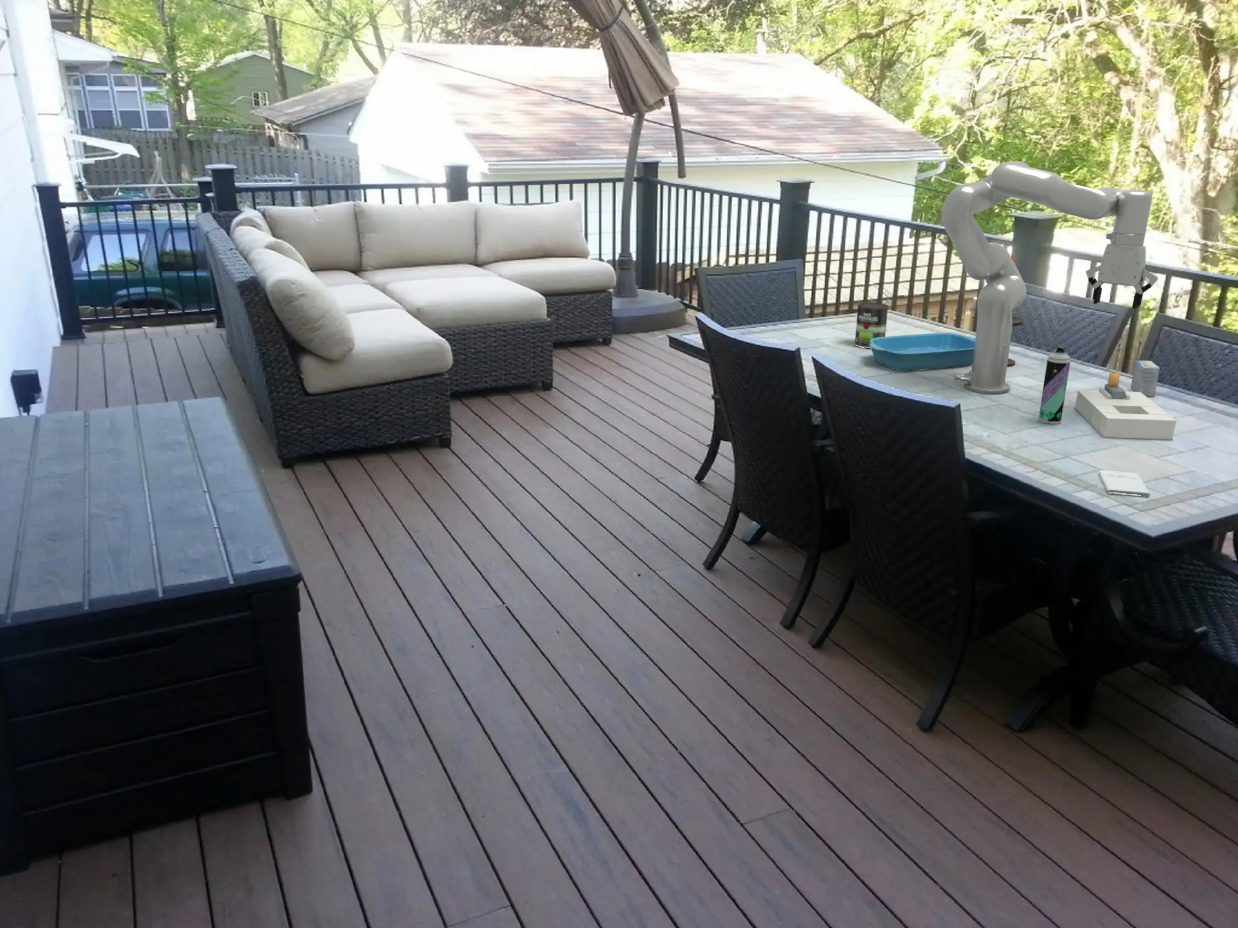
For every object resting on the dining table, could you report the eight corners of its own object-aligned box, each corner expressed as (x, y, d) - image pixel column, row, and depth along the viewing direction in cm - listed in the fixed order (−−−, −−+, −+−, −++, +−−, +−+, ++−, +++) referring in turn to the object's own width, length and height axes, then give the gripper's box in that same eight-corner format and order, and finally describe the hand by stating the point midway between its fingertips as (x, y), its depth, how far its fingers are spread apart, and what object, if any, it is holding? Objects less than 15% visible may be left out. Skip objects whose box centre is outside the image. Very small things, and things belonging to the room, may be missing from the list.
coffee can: (878, 350, 327) (882, 309, 322) (849, 346, 332) (852, 306, 327) (889, 344, 335) (893, 304, 330) (861, 341, 340) (864, 301, 335)
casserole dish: (887, 376, 298) (889, 353, 296) (855, 358, 318) (856, 337, 316) (993, 367, 306) (996, 345, 303) (955, 351, 326) (958, 330, 324)
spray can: (1034, 418, 256) (1045, 344, 249) (1054, 417, 257) (1065, 344, 250) (1044, 424, 251) (1056, 350, 244) (1064, 423, 252) (1076, 349, 245)
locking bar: (1112, 398, 255) (1115, 379, 253) (1103, 391, 261) (1107, 372, 260) (1124, 398, 254) (1127, 379, 253) (1115, 391, 261) (1118, 373, 259)
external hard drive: (1106, 496, 208) (1097, 475, 219) (1148, 500, 205) (1137, 479, 216) (1108, 489, 207) (1098, 469, 218) (1150, 493, 205) (1138, 472, 216)
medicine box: (1154, 397, 273) (1160, 367, 270) (1137, 396, 274) (1143, 367, 271) (1146, 389, 280) (1151, 360, 277) (1129, 389, 281) (1135, 360, 278)
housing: (1104, 437, 241) (1108, 414, 239) (1075, 407, 265) (1078, 386, 262) (1172, 439, 239) (1177, 416, 237) (1137, 409, 262) (1141, 388, 260)
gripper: (1087, 238, 251) (1076, 303, 257) (1160, 244, 240) (1146, 312, 247) (1097, 235, 256) (1086, 299, 263) (1168, 241, 246) (1155, 308, 252)
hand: (1115, 305), depth 255 cm, fingers open, 9 cm apart
